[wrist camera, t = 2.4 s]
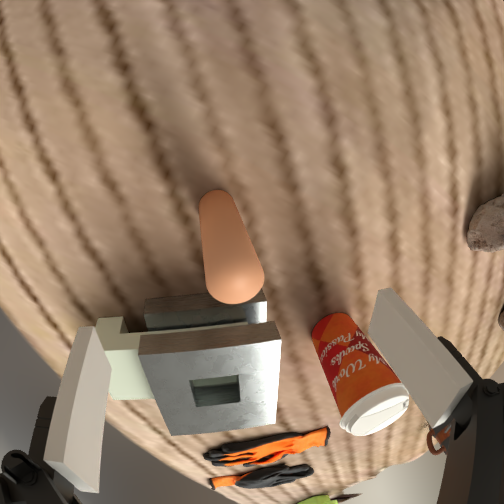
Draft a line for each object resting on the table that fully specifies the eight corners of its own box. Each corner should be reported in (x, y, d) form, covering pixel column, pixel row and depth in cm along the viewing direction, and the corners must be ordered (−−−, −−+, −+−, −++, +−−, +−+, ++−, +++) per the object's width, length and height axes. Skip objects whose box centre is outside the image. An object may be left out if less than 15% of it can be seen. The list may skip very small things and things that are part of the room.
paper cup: (354, 295, 35) (416, 381, 23) (362, 335, 39) (412, 414, 27) (294, 323, 36) (339, 421, 23) (309, 360, 39) (348, 447, 27)
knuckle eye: (98, 318, 30) (88, 351, 26) (242, 304, 33) (251, 337, 28) (118, 367, 34) (113, 399, 30) (245, 356, 37) (253, 388, 32)
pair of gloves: (199, 440, 46) (201, 456, 43) (333, 419, 50) (339, 433, 47) (211, 486, 58) (212, 498, 56) (307, 471, 63) (311, 482, 60)
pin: (197, 191, 26) (203, 257, 16) (234, 188, 27) (264, 251, 16) (200, 225, 28) (208, 306, 17) (235, 222, 28) (264, 300, 18)
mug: (421, 424, 64) (439, 456, 54) (454, 404, 65) (474, 433, 54) (415, 436, 68) (432, 466, 58) (447, 417, 69) (465, 445, 59)
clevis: (145, 299, 30) (137, 355, 23) (261, 287, 32) (281, 339, 25) (170, 384, 37) (171, 435, 30) (261, 374, 39) (275, 423, 32)
